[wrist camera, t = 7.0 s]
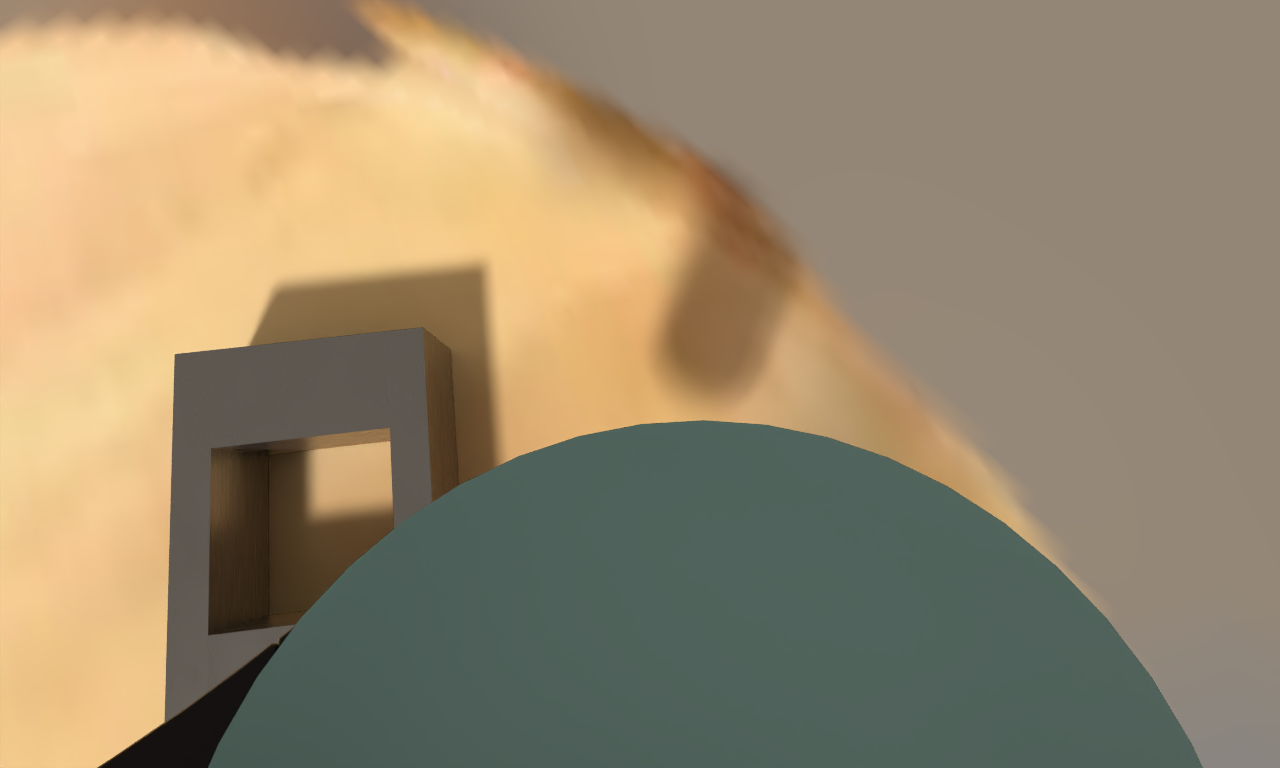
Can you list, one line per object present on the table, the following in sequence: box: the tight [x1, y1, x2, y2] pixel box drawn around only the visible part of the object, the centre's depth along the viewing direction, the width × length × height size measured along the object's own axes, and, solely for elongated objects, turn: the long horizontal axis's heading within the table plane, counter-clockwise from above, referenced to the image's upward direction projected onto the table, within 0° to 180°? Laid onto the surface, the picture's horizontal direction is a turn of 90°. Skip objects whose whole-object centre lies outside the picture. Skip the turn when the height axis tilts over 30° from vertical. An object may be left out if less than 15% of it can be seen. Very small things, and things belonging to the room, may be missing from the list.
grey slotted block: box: [165, 327, 459, 722], centre depth 19 cm, size 20×8×3 cm, turn 7°
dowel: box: [208, 420, 1203, 768], centre depth 8 cm, size 4×4×13 cm
